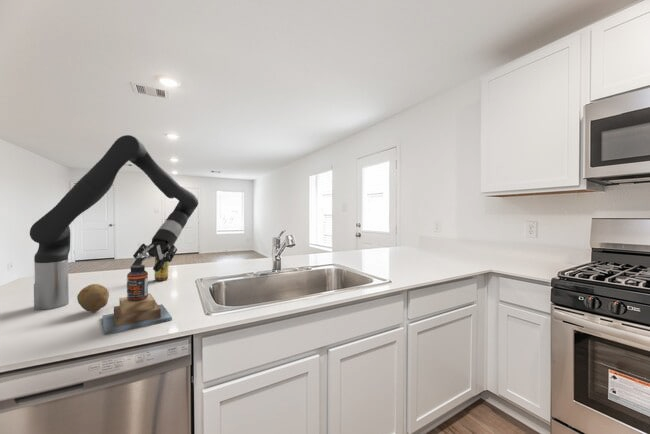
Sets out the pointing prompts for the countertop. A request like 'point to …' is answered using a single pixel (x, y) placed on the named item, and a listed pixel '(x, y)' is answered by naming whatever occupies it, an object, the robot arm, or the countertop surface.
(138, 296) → the supplement bottle
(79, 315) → the countertop surface
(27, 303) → the countertop surface
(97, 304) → the natural sponge
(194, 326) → the countertop surface
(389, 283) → the countertop surface
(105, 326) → the block tower
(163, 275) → the sauce bottle
